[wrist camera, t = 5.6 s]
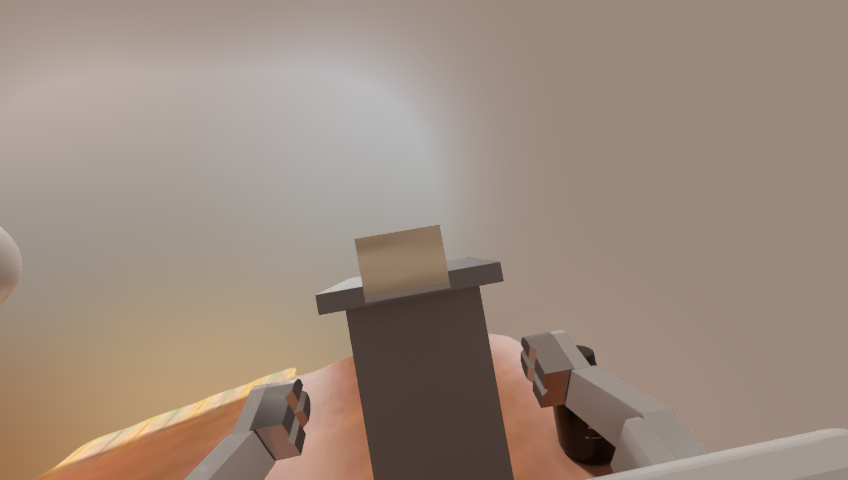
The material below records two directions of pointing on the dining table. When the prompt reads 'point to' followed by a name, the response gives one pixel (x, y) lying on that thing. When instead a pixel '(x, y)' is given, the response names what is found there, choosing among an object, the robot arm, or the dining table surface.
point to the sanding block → (402, 263)
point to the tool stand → (427, 378)
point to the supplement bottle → (581, 431)
